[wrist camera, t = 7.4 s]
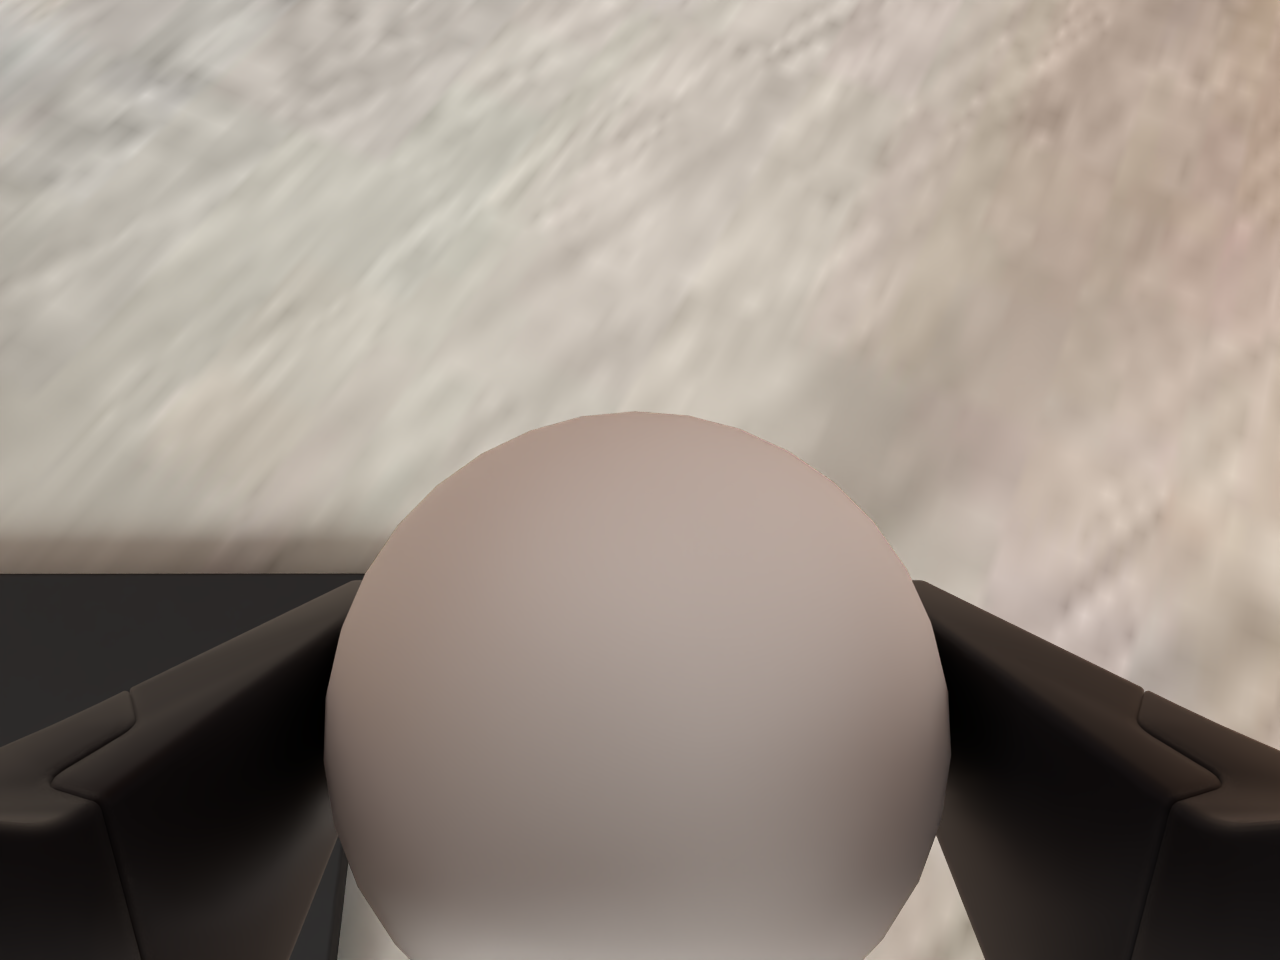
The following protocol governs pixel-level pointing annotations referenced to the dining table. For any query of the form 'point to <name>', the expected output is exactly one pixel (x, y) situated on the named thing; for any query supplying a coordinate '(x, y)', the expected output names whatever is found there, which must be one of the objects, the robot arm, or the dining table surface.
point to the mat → (142, 660)
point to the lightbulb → (637, 707)
